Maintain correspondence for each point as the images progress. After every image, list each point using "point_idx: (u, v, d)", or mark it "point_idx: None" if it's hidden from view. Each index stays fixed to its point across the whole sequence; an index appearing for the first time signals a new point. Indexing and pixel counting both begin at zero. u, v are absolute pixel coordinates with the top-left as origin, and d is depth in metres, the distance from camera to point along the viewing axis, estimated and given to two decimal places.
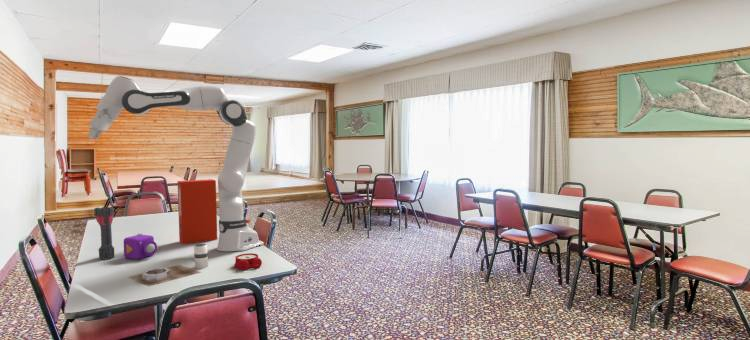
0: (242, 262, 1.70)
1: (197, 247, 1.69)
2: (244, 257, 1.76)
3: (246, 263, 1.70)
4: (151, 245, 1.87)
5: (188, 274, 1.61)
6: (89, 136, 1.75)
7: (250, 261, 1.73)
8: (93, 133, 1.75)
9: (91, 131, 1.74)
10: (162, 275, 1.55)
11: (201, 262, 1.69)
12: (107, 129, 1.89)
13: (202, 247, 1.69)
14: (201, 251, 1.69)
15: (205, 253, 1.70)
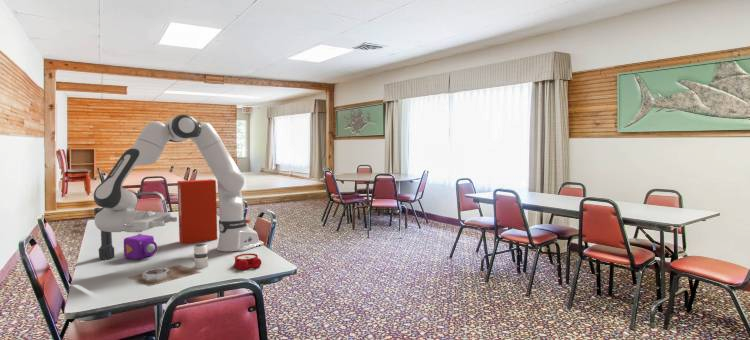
0: (242, 262, 1.69)
1: (197, 247, 1.69)
2: (243, 257, 1.76)
3: (246, 263, 1.70)
4: (151, 245, 1.87)
5: (188, 274, 1.61)
6: (161, 224, 1.65)
7: (250, 261, 1.73)
8: (156, 223, 1.65)
9: (154, 225, 1.65)
10: (162, 275, 1.55)
11: (201, 262, 1.69)
12: (167, 213, 1.80)
13: (202, 247, 1.69)
14: (201, 251, 1.69)
15: (205, 253, 1.70)
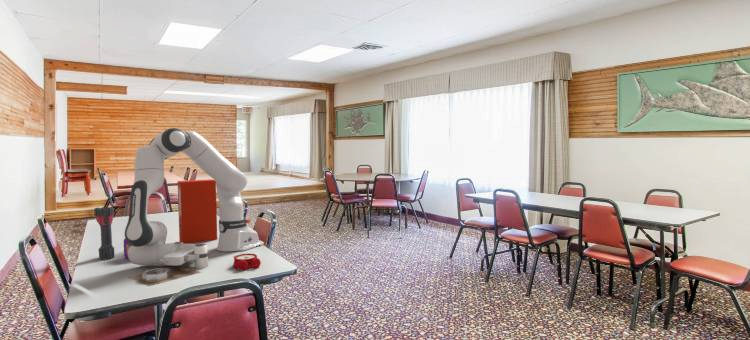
0: (241, 262, 1.69)
1: (197, 247, 1.69)
2: (243, 257, 1.76)
3: (245, 263, 1.70)
4: None
5: (188, 274, 1.61)
6: (197, 257, 1.67)
7: (249, 261, 1.73)
8: (192, 256, 1.67)
9: (190, 258, 1.67)
10: (162, 275, 1.55)
11: (201, 262, 1.69)
12: None
13: (202, 247, 1.69)
14: (201, 251, 1.69)
15: (205, 253, 1.70)
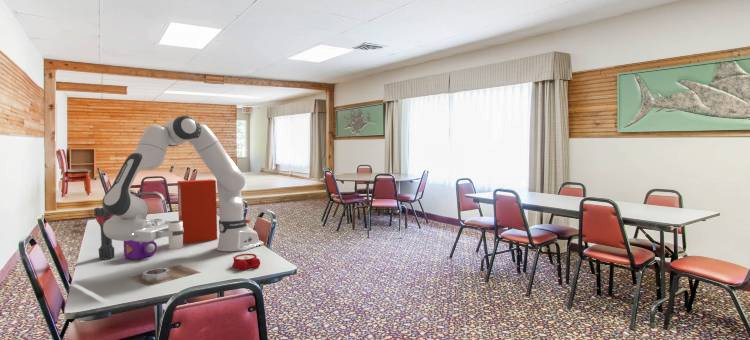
0: (241, 262, 1.69)
1: (171, 224, 1.59)
2: (242, 257, 1.76)
3: (245, 263, 1.70)
4: (151, 245, 1.87)
5: (188, 274, 1.61)
6: (169, 235, 1.58)
7: (249, 261, 1.72)
8: (164, 233, 1.58)
9: (163, 235, 1.58)
10: (162, 275, 1.55)
11: (175, 240, 1.60)
12: None
13: (176, 224, 1.60)
14: (175, 228, 1.60)
15: (179, 231, 1.61)
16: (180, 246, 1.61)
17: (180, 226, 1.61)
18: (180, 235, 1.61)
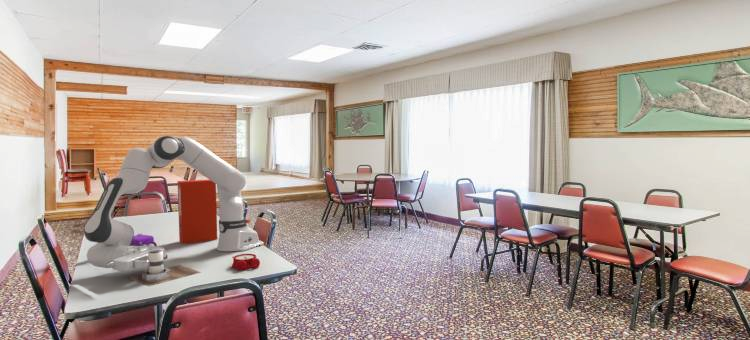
0: (240, 262, 1.69)
1: (150, 254, 1.54)
2: (242, 257, 1.76)
3: (244, 263, 1.70)
4: (151, 245, 1.87)
5: (188, 274, 1.61)
6: (145, 264, 1.52)
7: (248, 261, 1.72)
8: (140, 262, 1.52)
9: (138, 265, 1.51)
10: (162, 275, 1.55)
11: (154, 271, 1.55)
12: (162, 248, 1.67)
13: (155, 254, 1.54)
14: (154, 259, 1.54)
15: (158, 261, 1.55)
16: None
17: (160, 256, 1.56)
18: (160, 266, 1.56)
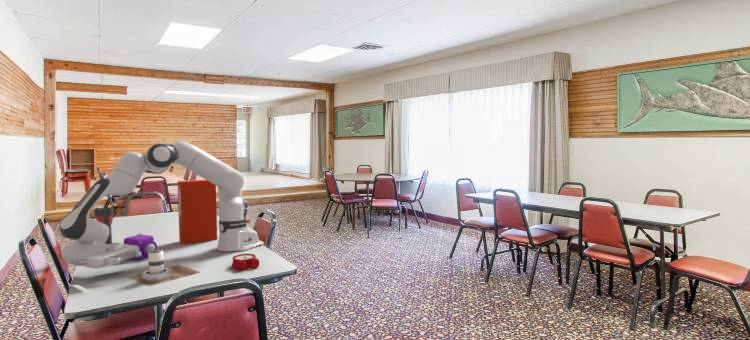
0: (240, 262, 1.69)
1: (150, 254, 1.54)
2: (241, 257, 1.76)
3: (244, 263, 1.69)
4: (151, 245, 1.87)
5: (188, 274, 1.61)
6: (117, 262, 1.54)
7: (248, 261, 1.72)
8: (111, 260, 1.54)
9: (110, 262, 1.54)
10: (162, 275, 1.55)
11: (154, 270, 1.55)
12: (136, 246, 1.69)
13: (155, 254, 1.54)
14: (154, 258, 1.54)
15: (158, 261, 1.55)
16: None
17: (160, 256, 1.56)
18: (160, 265, 1.56)
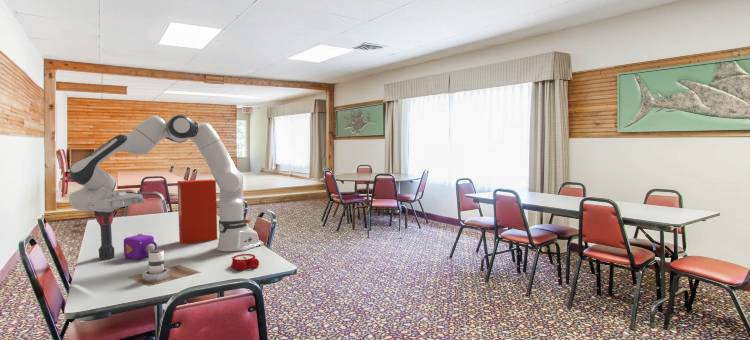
0: (239, 263, 1.69)
1: (150, 254, 1.54)
2: (241, 258, 1.75)
3: (243, 264, 1.69)
4: (151, 245, 1.87)
5: (188, 274, 1.61)
6: (122, 204, 1.63)
7: (247, 261, 1.72)
8: (117, 202, 1.63)
9: (115, 205, 1.63)
10: (162, 275, 1.55)
11: (154, 270, 1.55)
12: (140, 194, 1.78)
13: (155, 254, 1.54)
14: (154, 258, 1.54)
15: (158, 261, 1.55)
16: None
17: (160, 256, 1.55)
18: (160, 266, 1.56)
